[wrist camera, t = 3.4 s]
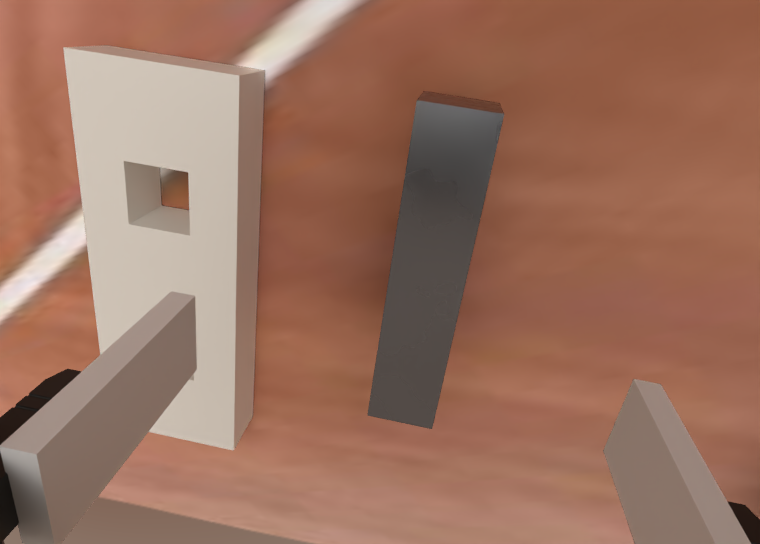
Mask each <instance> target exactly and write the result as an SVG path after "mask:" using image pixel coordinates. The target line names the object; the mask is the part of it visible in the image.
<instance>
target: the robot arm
mask: <svg viewBox="0 0 760 544" xmlns="http://www.w3.org/2000/svg"><path fill="white" fill-rule="evenodd" d="M196 370H197V353H196V308H195V296H194V295H188V294H183V293H178V292H173V291H171V292H170V293H169V294H168V295H166V296H165V297H164V298H163V299H162V300H161V301H160V302H159V303H158V304H156V305H155V306H154V307H153V308H152V309H151V310H150V311H149V312H148V313H146V314H145V315H144V316H143V317H142V318H141V319H140V320H139V321H138V322H136V323H135V324H134V325H133V326H132V327H131V328H130V329H129V330H128V331H126V332H125V333H124V334H123V335H122V336H121V337H120V338H119V339H118V340H116V341H115V342H114V343H113V344H112V345H111V346H110V347H109V348H108V349H106V350H105V351H104V352H103V353H102V354H101V355H100V356H99V357H98V358H96V359H95V360H94V361H93V362H92V363H91V364H90V365H89V366H88V367H86V368H85V369H84V370H83V371H82V372H81V371H76V370H71V369H66V370H64V371H62V372H60V373H58V374H56V375H54V376H52V377H50V378H48V379H46V380H44V381H43V382H42V383H41V384H40V385H38V386H37V387H36V388H35V389H34V390H32V391H31V392H30V393H29V396H25V397H24V398H23V399H22V400H21V401H19V402H18V403H17V404H16V406H15V408H13V407H12V408H11V409H10V410H9V411H8V412H6V413H5V414H4V415H3V416H2V417H0V544H4V539H5V538H6V537H7V536H8V535H9V533H10V532H11V531H12V530H13V529H14V528H15V527H16V526H17V525H18V528H19V532H20V536H21V540H22V543H25V544H61V543H62V542H63V541H64V540H65V538H66V537H67V536H68V534H69V533H70V532H71V531H72V529H73V528H74V527H75V525H76V524H77V523H78V522H79V520H80V519H81V518H82V516H83V515H84V514H85V512H86V511H87V510H88V509H89V507H90V506H91V505H92V503H93V502H94V501H95V500H96V498H97V497H98V496H99V495H100V493H101V492H102V491H103V489H104V488H105V487H106V486H107V484H108V483H109V482H110V480H111V479H112V478H113V477H114V475H115V474H116V473H117V471H118V470H119V469H120V468H121V466H122V465H123V464H124V462H125V461H126V460H127V459H128V457H129V456H130V455H131V453H132V452H133V451H134V450H135V448H136V447H137V446H138V444H139V443H140V442H141V441H142V439H143V438H144V437H145V436H146V434H147V433H148V432H149V430H150V429H151V428H152V427H153V425H154V424H155V423H156V421H157V420H158V419H159V418H160V416H161V415H162V414H163V412H164V411H165V410H166V409H167V407H168V406H169V405H170V403H171V402H172V401H173V400H174V398H175V397H176V396H177V394H178V393H179V392H180V391H181V389H182V388H183V387H184V385H185V384H186V383H187V382H188V380H189V379H190V378H191V376H192V375H193V374H194V373H195V371H196ZM603 451H604V454H605V457H606V460H607V463H608V466H609V469H610V472H611V475H612V478H613V481H614V484H615V487H616V490H617V493H618V496H619V499H620V502H621V504H622V507H623V510H624V513H625V516H626V519H627V522H628V525H629V528H630V531H631V534H632V537H633V540H634V543H635V544H760V520H759V519H758V518H757V517H756V516H755V515H754V514H753V513H752V512H751V511H750V510H749V509H748V508H747V507H746V506H745V505H742V504H737V503H732V502H727V500H726V498H725V497H724V495H723V493H722V491H721V490H720V488H719V486H718V484H717V483H716V481H715V479H714V477H713V476H712V474H711V472H710V470H709V468H708V467H707V465H706V463H705V461H704V460H703V458H702V456H701V454H700V453H699V451H698V449H697V447H696V445H695V444H694V442H693V440H692V438H691V437H690V435H689V433H688V431H687V430H686V428H685V426H684V424H683V422H682V421H681V419H680V417H679V415H678V414H677V412H676V410H675V408H674V407H673V405H672V403H671V401H670V399H669V398H668V396H667V394H666V392H665V391H664V389H663V387H662V385H661V384H658V383H652V382H647V381H642V380H637V379H633V382H632V384H631V386H630V389H629V391H628V393H627V396H626V398H625V400H624V403H623V405H622V408H621V410H620V412H619V415H618V417H617V419H616V422H615V424H614V427H613V429H612V431H611V434H610V436H609V438H608V441H607V443H606V445H605V448H604V450H603Z"/></svg>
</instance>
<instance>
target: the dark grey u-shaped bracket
mask: <svg viewBox="0 0 760 544" xmlns="http://www.w3.org/2000/svg"><path fill="white" fill-rule="evenodd" d="M503 117H504V112H503V110H502V108H501V105H500V103H497V102H490V101H484V100H478V99H471V98H465V97H459V96H453V95H446V94H440V93H434V92H427V91H423V93H422V94H421V95H420V97H419V98H418V99H417V103H416V109H415V116H414V122H413V128H412V135H411V141H410V147H409V154H408V160H407V167H406V173H405V179H404V186H403V192H402V198H401V205H400V211H399V218H398V224H397V230H396V237H395V243H394V249H393V256H392V262H391V269H390V275H389V281H388V288H387V294H386V300H385V307H384V313H383V319H382V326H381V332H380V339H379V345H378V351H377V358H376V364H375V370H374V377H373V383H372V390H371V396H370V402H369V409H368V416H373V417H378V418H382V419H387V420H392V421H397V422H401V423H406V424H411V425H416V426H420V427H425V428H430V429H432V427H433V423H434V418H435V414H436V409H437V405H438V401H439V396H440V392H441V388H442V383H443V379H444V375H445V370H446V366H447V361H448V357H449V353H450V348H451V344H452V340H453V335H454V331H455V327H456V322H457V318H458V313H459V309H460V305H461V300H462V296H463V292H464V287H465V283H466V279H467V274H468V270H469V265H470V261H471V257H472V252H473V248H474V244H475V239H476V235H477V231H478V226H479V222H480V218H481V213H482V209H483V204H484V200H485V196H486V191H487V187H488V183H489V178H490V174H491V170H492V165H493V161H494V156H495V152H496V148H497V143H498V139H499V135H500V130H501V126H502V122H503Z"/></svg>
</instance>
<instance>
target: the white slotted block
mask: <svg viewBox="0 0 760 544" xmlns="http://www.w3.org/2000/svg"><path fill="white" fill-rule="evenodd" d="M63 49H64V57H65V66H66V74H67V82H68V91H69V99H70V107H71V115H72V124H73V132H74V140H75V149H76V157H77V165H78V174H79V182H80V190H81V198H82V207H83V215H84V223H85V232H86V240H87V248H88V256H89V265H90V273H91V281H92V290H93V298H94V306H95V314H96V323H97V331H98V339H99V348H100V355H101V354H102V353H103V352H104V351H105V350H106V349H108V348H109V347H110V346H111V345H112V344H113V343H114V342H115V341H116V340H118V339H119V338H120V337H121V336H122V335H123V334H124V333H125V332H126V331H128V330H129V329H130V328H131V327H132V326H133V325H134V324H135V323H136V322H138V321H139V320H140V319H141V318H142V317H143V316H144V315H145V314H146V313H148V312H149V311H150V310H151V309H152V308H153V307H154V306H155V305H156V304H158V303H159V302H160V301H161V300H162V299H163V298H164V297H165V296H166V295H168V294H169V293H170V292H171V291H173V292H178V293H183V294H188V295H194V296H195V308H196V353H197V370H196V371H195V373H194V374H193V375H192V376H191V378H190V379H189V380H188V382H187V383H186V384H185V385H184V387H183V388H182V389H181V391H180V392H179V393H178V394H177V396H176V397H175V398H174V400H173V401H172V402H171V403H170V405H169V406H168V407H167V409H166V410H165V411H164V412H163V414H162V415H161V416H160V418H159V419H158V420H157V421H156V423H155V424H154V425H153V427H152V428H151V429H150V430H149V432H152V433H157V434H161V435H166V436H170V437H175V438H179V439H184V440H188V441H193V442H197V443H202V444H206V445H211V446H215V447H220V448H225V449H229V450H234V449H235V448H236V446H237V444H238V442H239V440H240V439H241V437H242V435H243V433H244V431H245V430H246V428H247V426H248V424H249V422H250V421H251V419H252V417H253V400H254V371H255V342H256V313H257V284H258V255H259V226H260V198H261V169H262V140H263V111H264V82H265V70H259V69H253V68H247V67H240V66H234V65H228V64H221V63H215V62H209V61H203V60H196V59H190V58H184V57H177V56H171V55H165V54H159V53H152V52H146V51H140V50H133V49H127V48H121V47H115V46H108V45H104V46H82V47H63ZM160 167H161V168H167V169H172V170H178V171H184V172H188V178H189V210H184V209H179V208H173V207H168V206H162V203H161V183H160Z"/></svg>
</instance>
